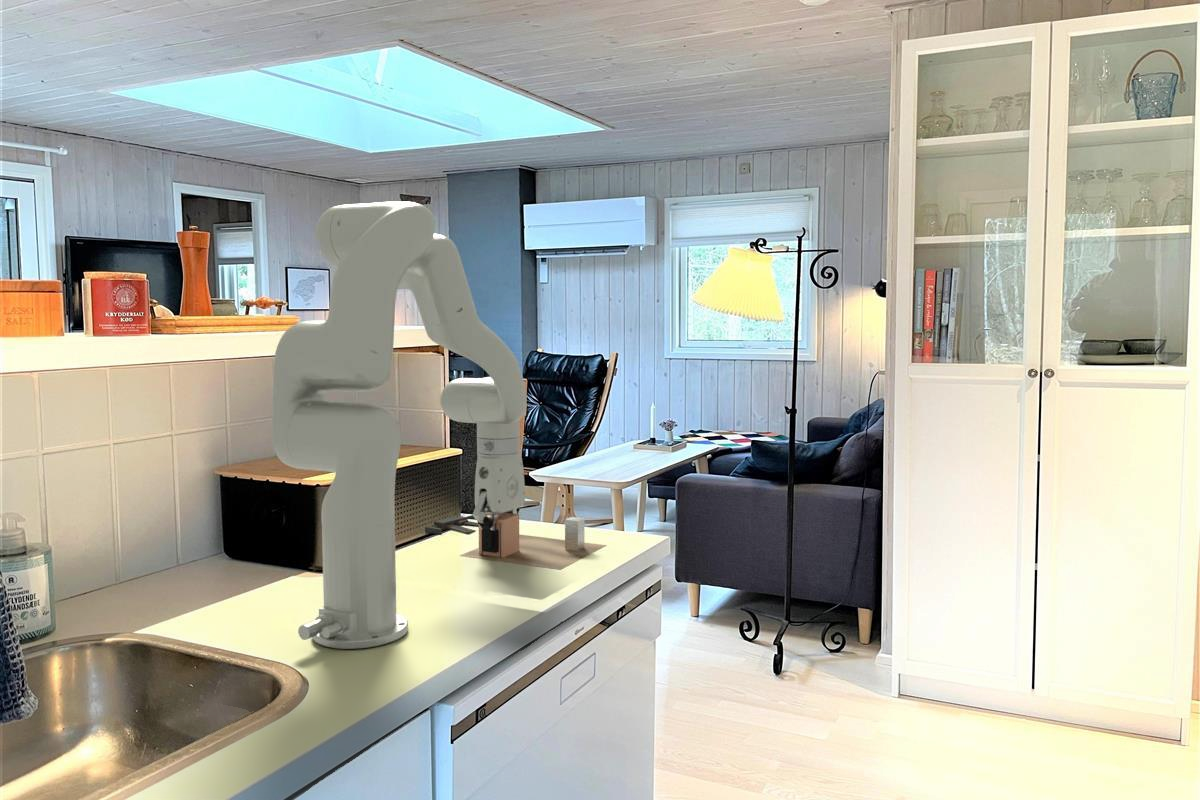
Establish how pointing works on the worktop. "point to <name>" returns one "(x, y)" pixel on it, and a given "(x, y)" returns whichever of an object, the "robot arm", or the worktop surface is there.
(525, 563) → the board
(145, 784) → the worktop surface
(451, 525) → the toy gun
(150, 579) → the worktop surface
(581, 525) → the post
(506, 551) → the salmon pink block
